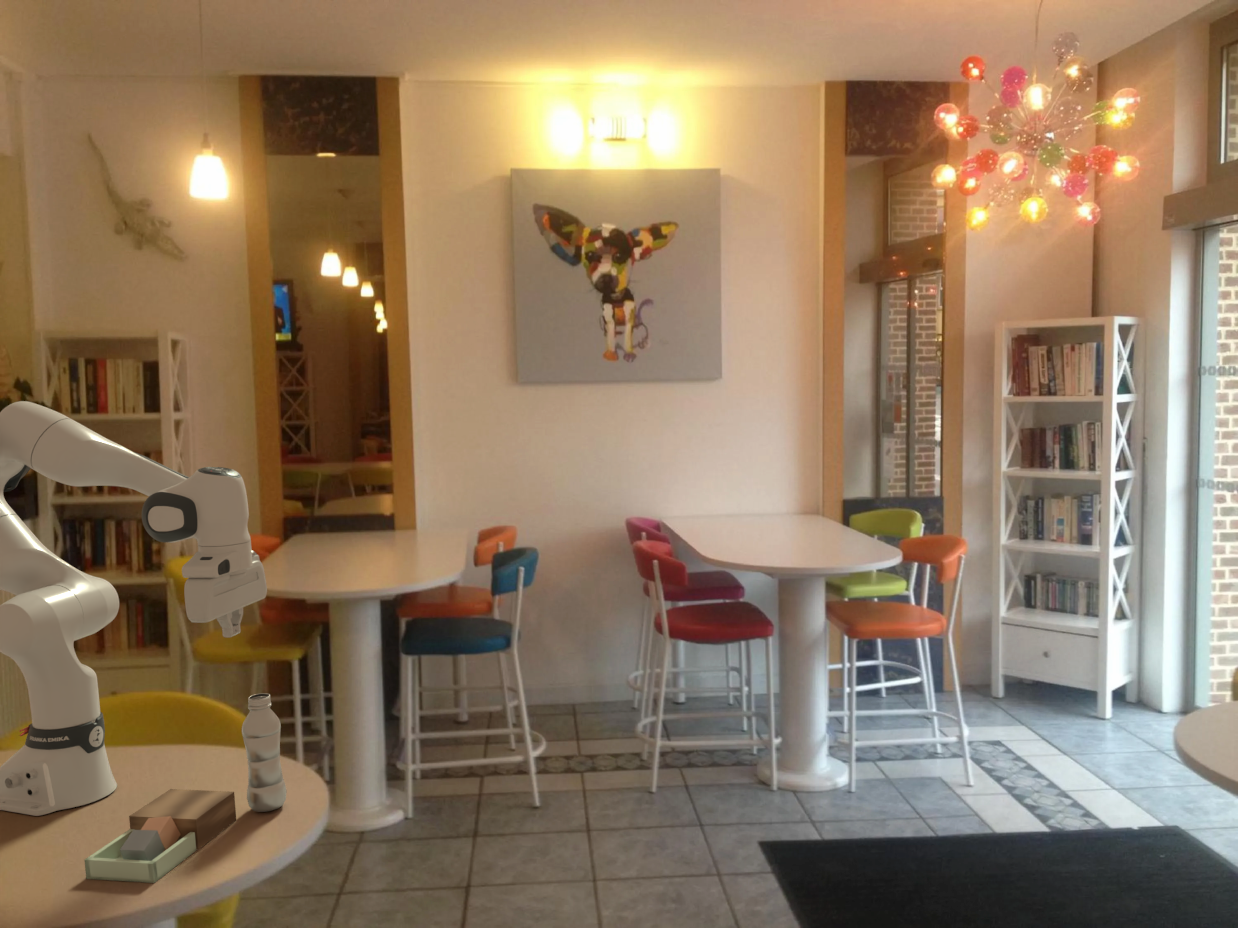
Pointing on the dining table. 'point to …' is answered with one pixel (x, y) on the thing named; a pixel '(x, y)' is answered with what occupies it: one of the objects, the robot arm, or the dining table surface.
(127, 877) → the tray
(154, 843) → the matte grey cube
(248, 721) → the plastic bottle
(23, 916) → the dining table surface
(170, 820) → the peach colored cube
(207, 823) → the brown wooden block
